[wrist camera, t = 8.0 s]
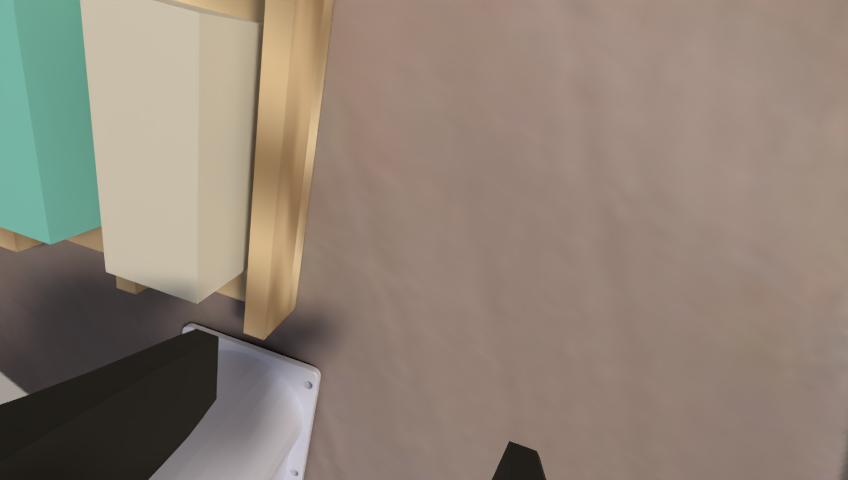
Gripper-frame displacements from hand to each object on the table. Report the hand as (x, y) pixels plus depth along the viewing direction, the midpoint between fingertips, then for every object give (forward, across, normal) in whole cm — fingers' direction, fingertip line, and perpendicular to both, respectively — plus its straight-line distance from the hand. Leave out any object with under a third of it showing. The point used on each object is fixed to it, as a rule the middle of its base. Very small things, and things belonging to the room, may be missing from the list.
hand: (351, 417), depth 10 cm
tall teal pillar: (+9, +16, -3) cm, 19 cm away
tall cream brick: (+9, +10, -2) cm, 13 cm away
